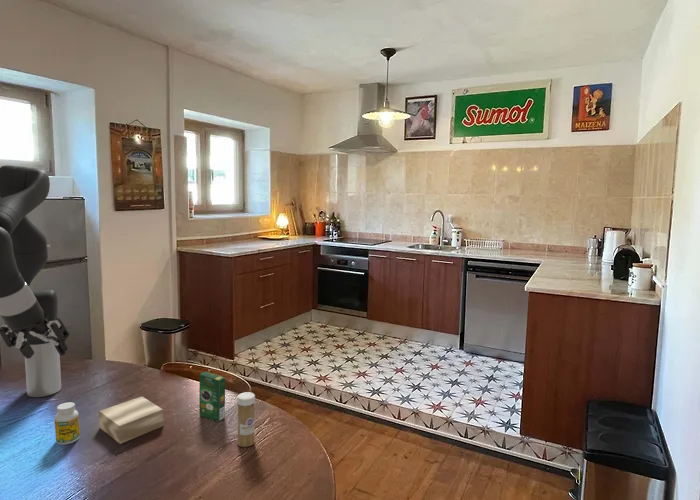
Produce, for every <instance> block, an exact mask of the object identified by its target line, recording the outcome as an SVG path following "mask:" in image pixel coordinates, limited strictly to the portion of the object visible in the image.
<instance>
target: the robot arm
mask: <svg viewBox="0 0 700 500" xmlns="http://www.w3.org/2000/svg"><path fill="white" fill-rule="evenodd" d="M50 184H51V183H50V177H49V175H48V173H47V171H45V170H43V169H39V168H34V167H27V166H18V165H9V164H7V165H1V166H0V316H1V319H2V320H3V321H4V323H3V324H2V325H1V326H0V336H1V337H2V339H3V341H4V343H5V344H6V346H7V348H13V347H14V348H16V349H18V350H19V351H20V352H21V354H22V356H23V357H24V365H25V367H24V369H25V386H26V395H27V396H28V397H29V398H42V397H47V396H50V395H54V394H56V393H58V392H60V391H61V389H62V378H61V377H62V375H61V358H60V357H61V356H65V355H66V353H67V352H68V350H69V348H68V346H67V344H66V341H67V340H68V339H69V337H70V336H71V335H70V333H69V331H68V330H67V328H66V326H65V324H64V323H63V321H62V320H61V319H60V318H58V310H59V309H58V306H59V305H58V302H59V301H58V295H57V292H56V291H55V290H53V289H45V290H44V289H43V290H42V289H41V290H32V289H31V287H30V285H31V283H32V282H33V280H34V279H35V278H36V277H37V276H38V274H39V273H40V272H41V271H42V269H43V268H44V267H45V265H46V264H47V261H48V259H49V258H48V257H49V252H48V242H47V237H46V236H45V234H44V232H43V231H42V229H40V228H39V226H38V225H36V224H35V222H34V221H33V220H31V219H30V217H29V216H28V215H29V213H31V212H32V211H34V210H35V209H37V207H38V206H39V205H41V204H43V203H44V201H46V199H47V198H48V195H49V193H50V187H51V185H50Z"/></svg>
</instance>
